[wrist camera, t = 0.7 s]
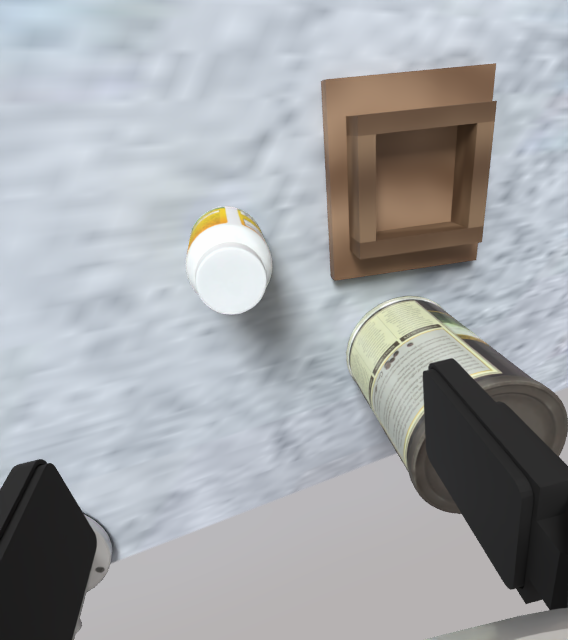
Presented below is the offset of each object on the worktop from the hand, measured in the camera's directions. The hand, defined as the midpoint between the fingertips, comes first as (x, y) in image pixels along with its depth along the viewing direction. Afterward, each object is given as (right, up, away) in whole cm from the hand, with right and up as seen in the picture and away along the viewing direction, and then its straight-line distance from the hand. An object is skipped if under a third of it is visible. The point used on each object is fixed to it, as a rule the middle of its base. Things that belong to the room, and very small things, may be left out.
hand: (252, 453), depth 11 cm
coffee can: (+11, +1, +28) cm, 31 cm away
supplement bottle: (-4, +9, +22) cm, 24 cm away
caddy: (+10, +14, +22) cm, 28 cm away
